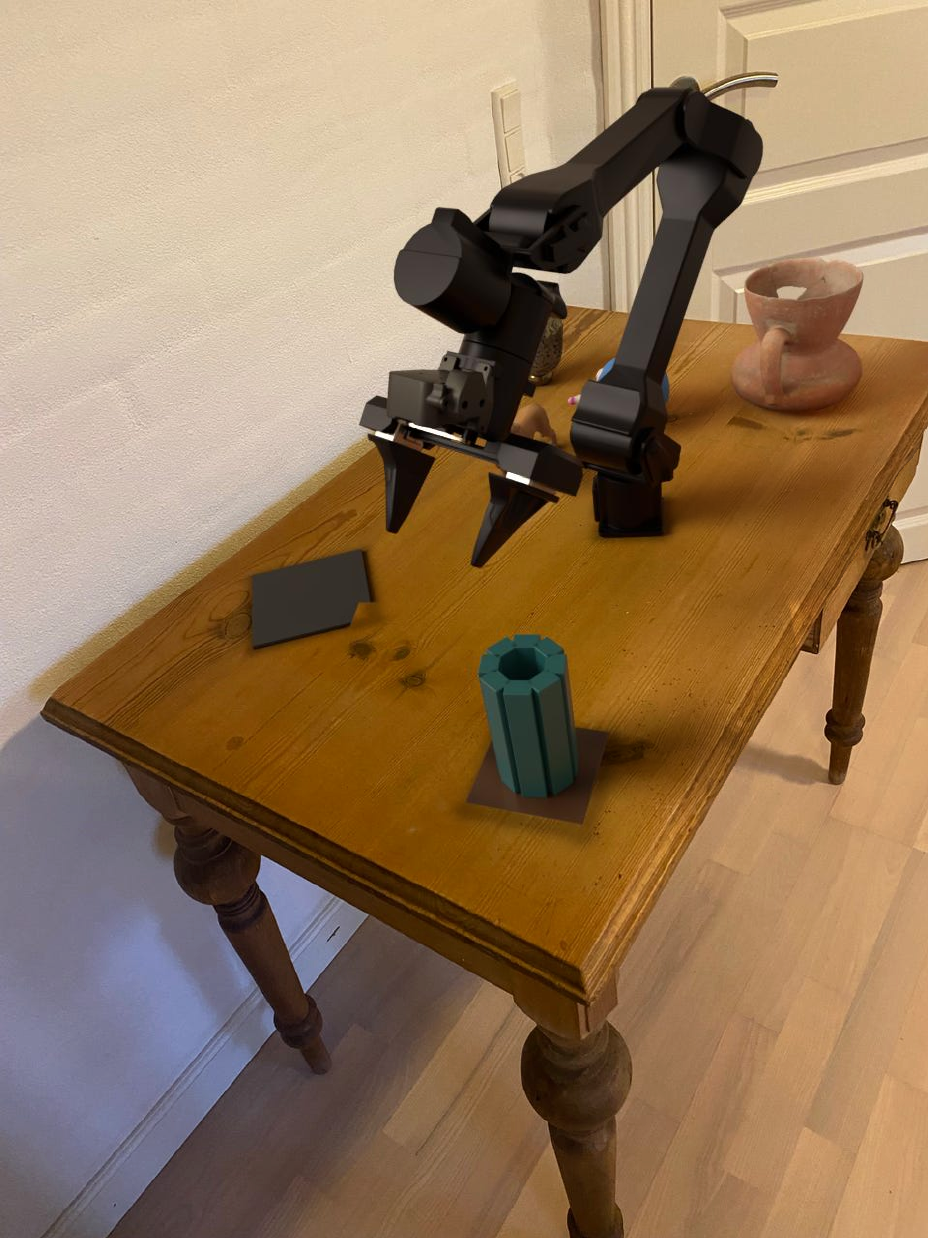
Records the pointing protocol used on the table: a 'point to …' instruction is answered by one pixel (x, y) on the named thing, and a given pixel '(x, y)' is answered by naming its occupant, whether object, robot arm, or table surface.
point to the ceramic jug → (799, 336)
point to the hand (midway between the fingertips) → (431, 549)
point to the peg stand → (559, 807)
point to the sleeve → (530, 714)
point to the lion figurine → (531, 426)
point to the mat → (307, 598)
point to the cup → (548, 353)
